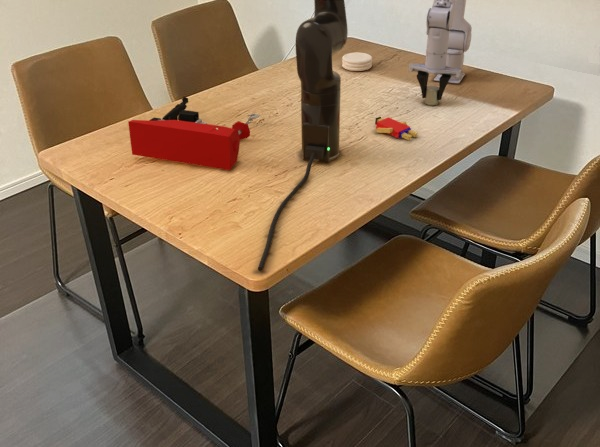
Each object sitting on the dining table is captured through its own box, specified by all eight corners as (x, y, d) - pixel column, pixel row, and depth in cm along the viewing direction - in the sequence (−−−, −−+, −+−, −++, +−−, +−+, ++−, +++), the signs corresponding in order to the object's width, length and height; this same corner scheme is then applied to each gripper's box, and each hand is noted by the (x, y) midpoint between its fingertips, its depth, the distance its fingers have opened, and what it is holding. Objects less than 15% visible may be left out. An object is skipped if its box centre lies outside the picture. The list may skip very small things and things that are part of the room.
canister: (440, 104, 179) (442, 89, 177) (427, 105, 178) (429, 91, 176) (435, 99, 182) (436, 85, 180) (422, 101, 182) (423, 86, 179)
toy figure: (421, 128, 160) (386, 113, 167) (405, 136, 156) (369, 120, 163) (420, 136, 162) (385, 121, 169) (404, 144, 158) (368, 128, 165)
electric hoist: (177, 78, 171) (124, 120, 146) (270, 90, 165) (231, 136, 141) (180, 112, 176) (129, 158, 152) (269, 125, 171) (232, 175, 146)
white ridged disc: (357, 73, 202) (357, 63, 200) (335, 66, 209) (336, 56, 207) (378, 66, 208) (378, 56, 206) (356, 60, 214) (357, 50, 212)
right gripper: (407, 52, 172) (403, 99, 179) (459, 58, 167) (453, 106, 174) (414, 45, 177) (410, 91, 184) (465, 51, 172) (459, 98, 179)
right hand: (431, 98), depth 180 cm, fingers closed on canister, 4 cm apart
